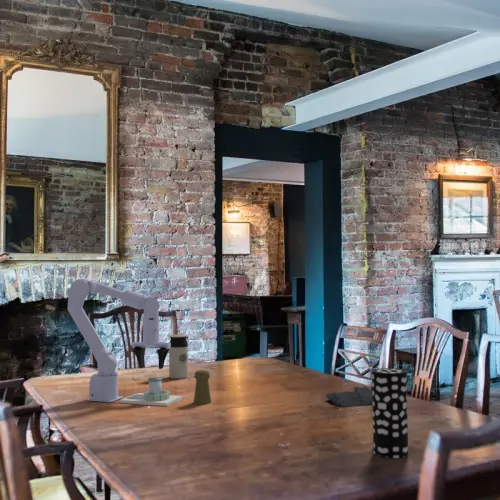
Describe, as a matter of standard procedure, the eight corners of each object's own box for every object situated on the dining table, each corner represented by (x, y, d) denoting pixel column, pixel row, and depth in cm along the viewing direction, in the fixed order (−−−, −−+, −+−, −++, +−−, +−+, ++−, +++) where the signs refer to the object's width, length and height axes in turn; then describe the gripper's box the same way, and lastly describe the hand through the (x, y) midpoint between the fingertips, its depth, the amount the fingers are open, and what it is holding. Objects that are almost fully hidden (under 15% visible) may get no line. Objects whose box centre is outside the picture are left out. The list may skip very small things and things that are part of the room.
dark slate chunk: (321, 400, 212) (320, 386, 212) (377, 395, 218) (376, 382, 219) (339, 409, 197) (339, 394, 198) (399, 404, 204) (399, 390, 204)
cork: (208, 404, 204) (208, 371, 205) (191, 404, 205) (191, 371, 206) (213, 400, 210) (212, 369, 211) (196, 400, 211) (196, 368, 212)
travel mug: (166, 376, 259) (166, 334, 260) (184, 375, 263) (184, 333, 263) (172, 379, 252) (172, 336, 253) (190, 378, 256) (190, 335, 256)
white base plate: (120, 402, 208) (120, 394, 209) (137, 395, 220) (137, 387, 220) (166, 406, 202) (166, 397, 203) (182, 399, 214) (182, 390, 214)
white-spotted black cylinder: (369, 448, 152) (367, 368, 153) (401, 447, 153) (400, 367, 153) (379, 458, 144) (377, 374, 144) (413, 457, 144) (411, 373, 145)
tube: (145, 399, 208) (145, 379, 209) (153, 396, 213) (152, 376, 213) (157, 400, 207) (157, 380, 207) (164, 397, 211) (164, 377, 211)
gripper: (127, 331, 216) (127, 369, 216) (164, 331, 212) (164, 370, 211) (137, 329, 223) (137, 366, 222) (173, 329, 218) (173, 367, 218)
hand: (151, 368), depth 217 cm, fingers open, 7 cm apart
